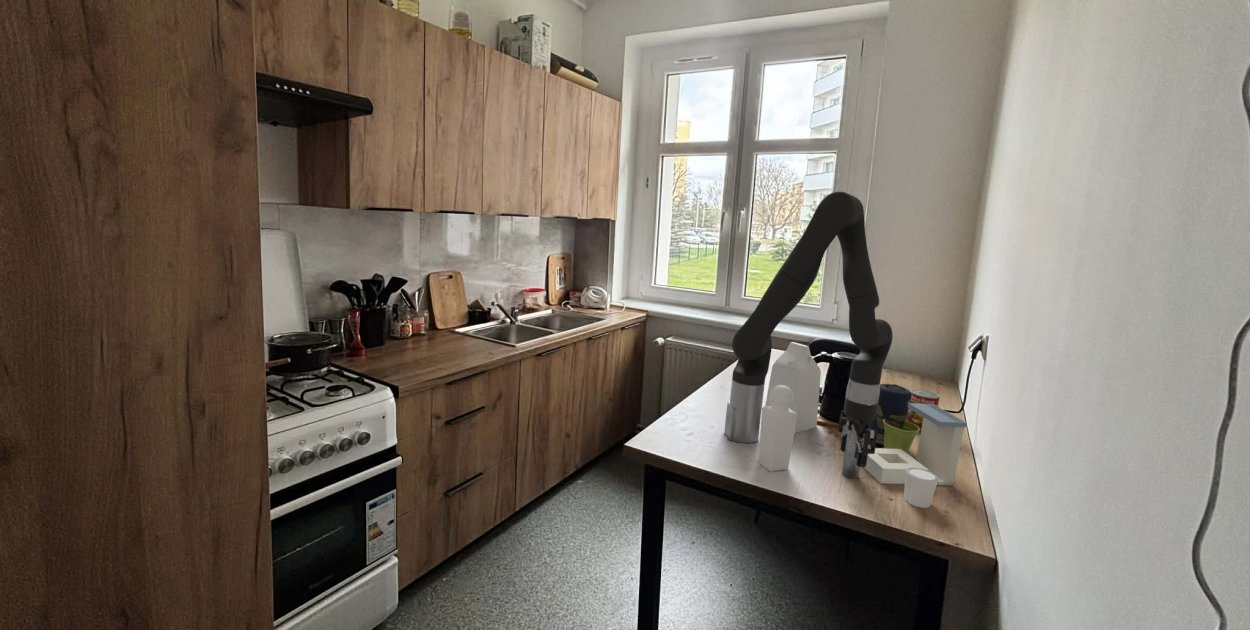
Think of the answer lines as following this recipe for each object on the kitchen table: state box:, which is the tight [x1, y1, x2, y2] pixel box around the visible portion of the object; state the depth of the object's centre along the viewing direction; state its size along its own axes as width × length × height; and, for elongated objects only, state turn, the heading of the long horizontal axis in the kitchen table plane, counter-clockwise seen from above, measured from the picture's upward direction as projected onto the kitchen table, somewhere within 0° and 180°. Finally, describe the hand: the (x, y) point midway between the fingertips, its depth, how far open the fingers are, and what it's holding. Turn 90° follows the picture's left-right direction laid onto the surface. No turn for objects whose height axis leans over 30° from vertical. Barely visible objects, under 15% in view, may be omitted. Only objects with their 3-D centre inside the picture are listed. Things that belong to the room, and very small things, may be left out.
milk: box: [764, 341, 822, 434], centre depth 167 cm, size 12×12×26 cm
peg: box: [841, 429, 864, 480], centre depth 136 cm, size 4×4×12 cm
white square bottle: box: [757, 385, 797, 472], centre depth 137 cm, size 6×6×22 cm
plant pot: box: [883, 419, 920, 454], centre depth 151 cm, size 9×9×9 cm
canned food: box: [906, 389, 940, 434], centre depth 171 cm, size 8×8×12 cm
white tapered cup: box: [903, 468, 938, 509], centre depth 125 cm, size 7×7×7 cm
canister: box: [870, 383, 912, 446], centre depth 157 cm, size 10×10×18 cm
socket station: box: [863, 403, 967, 486], centre depth 138 cm, size 19×13×17 cm
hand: (852, 458), depth 136 cm, fingers open, 8 cm apart
